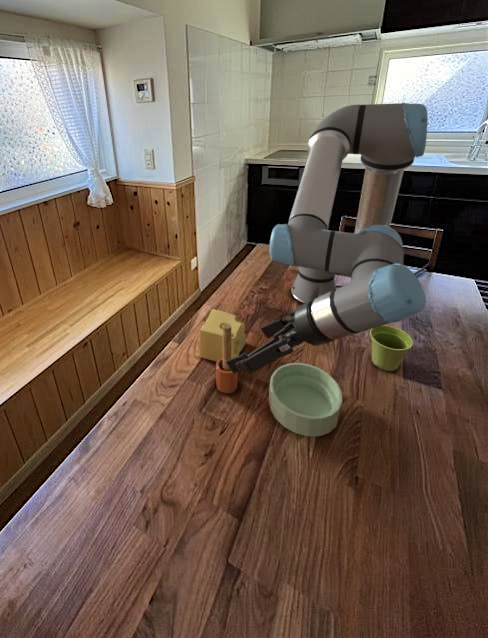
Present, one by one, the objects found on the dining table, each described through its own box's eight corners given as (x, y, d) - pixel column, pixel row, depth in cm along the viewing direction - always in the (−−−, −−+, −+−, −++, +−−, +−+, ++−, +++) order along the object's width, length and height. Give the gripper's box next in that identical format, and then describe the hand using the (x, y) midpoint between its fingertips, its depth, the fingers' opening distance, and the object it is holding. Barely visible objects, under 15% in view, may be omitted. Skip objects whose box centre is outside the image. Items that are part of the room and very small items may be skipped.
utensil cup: (227, 374, 87) (227, 353, 84) (241, 388, 83) (242, 366, 80) (212, 384, 84) (211, 363, 82) (225, 398, 80) (225, 376, 78)
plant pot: (411, 379, 83) (419, 351, 80) (370, 374, 85) (376, 347, 81) (397, 352, 91) (404, 326, 88) (360, 348, 93) (365, 323, 90)
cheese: (246, 344, 97) (246, 315, 93) (234, 370, 88) (235, 340, 84) (212, 335, 101) (211, 307, 97) (198, 359, 92) (197, 330, 88)
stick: (227, 380, 85) (227, 322, 77) (232, 385, 83) (233, 326, 76) (221, 383, 84) (220, 325, 76) (226, 389, 82) (226, 330, 75)
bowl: (297, 371, 87) (299, 353, 84) (352, 413, 75) (356, 393, 73) (255, 401, 79) (256, 382, 77) (309, 452, 68) (312, 432, 65)
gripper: (308, 382, 49) (225, 400, 65) (361, 304, 66) (285, 334, 81) (277, 338, 50) (203, 366, 66) (337, 272, 67) (267, 307, 83)
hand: (248, 348), depth 74 cm, fingers open, 13 cm apart
